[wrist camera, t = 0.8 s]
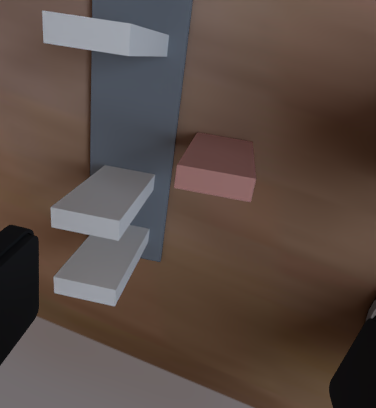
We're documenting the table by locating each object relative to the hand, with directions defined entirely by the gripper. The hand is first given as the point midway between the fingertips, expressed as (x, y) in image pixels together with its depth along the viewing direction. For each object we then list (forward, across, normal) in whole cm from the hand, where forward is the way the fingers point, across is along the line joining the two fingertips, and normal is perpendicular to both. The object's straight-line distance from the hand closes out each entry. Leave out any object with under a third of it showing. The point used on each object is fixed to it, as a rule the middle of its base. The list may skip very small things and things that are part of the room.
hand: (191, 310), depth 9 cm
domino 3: (+22, +7, +12) cm, 26 cm away
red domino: (+22, 0, +1) cm, 22 cm away
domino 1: (+22, +8, -6) cm, 25 cm away
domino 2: (+22, +8, +6) cm, 24 cm away
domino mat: (+23, +8, 0) cm, 24 cm away
